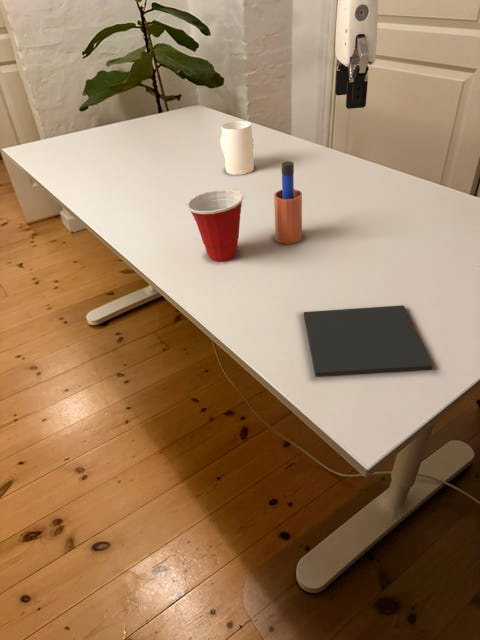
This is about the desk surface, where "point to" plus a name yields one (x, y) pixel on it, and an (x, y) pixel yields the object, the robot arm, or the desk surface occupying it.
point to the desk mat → (364, 341)
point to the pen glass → (288, 217)
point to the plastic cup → (218, 221)
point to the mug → (237, 147)
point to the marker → (287, 180)
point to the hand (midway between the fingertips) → (349, 100)
